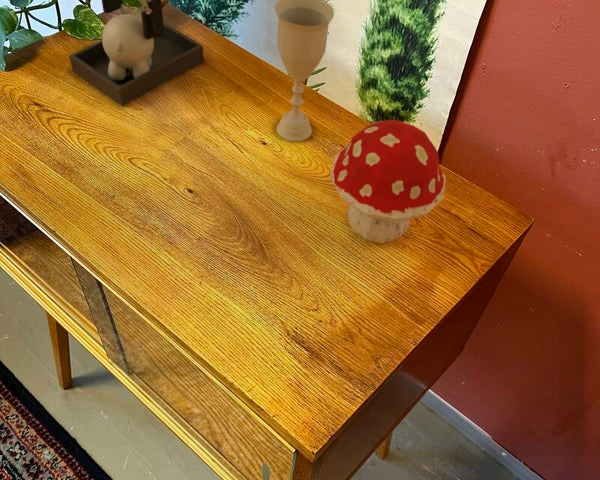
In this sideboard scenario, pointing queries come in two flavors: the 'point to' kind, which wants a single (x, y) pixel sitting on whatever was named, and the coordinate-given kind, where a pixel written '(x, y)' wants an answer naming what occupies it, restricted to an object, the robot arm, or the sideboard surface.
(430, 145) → the decorative mushroom
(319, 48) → the chalice
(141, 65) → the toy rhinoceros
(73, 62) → the tray
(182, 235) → the sideboard surface
